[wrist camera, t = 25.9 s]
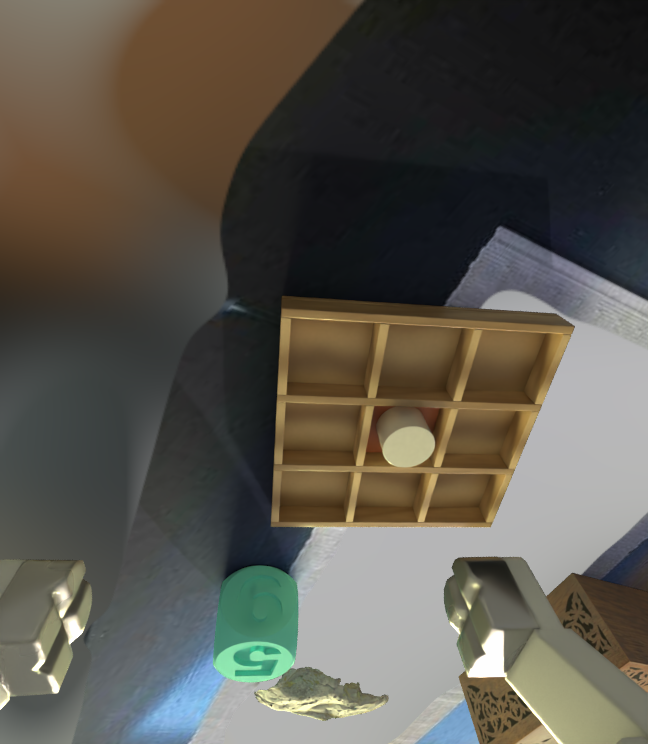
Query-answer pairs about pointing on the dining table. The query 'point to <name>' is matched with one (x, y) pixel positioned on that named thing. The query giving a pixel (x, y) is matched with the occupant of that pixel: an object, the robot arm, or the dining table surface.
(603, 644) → the tissue box cover
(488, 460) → the board
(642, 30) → the dining table surface
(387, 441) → the white cylinder
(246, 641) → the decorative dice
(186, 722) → the dining table surface
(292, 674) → the rock
